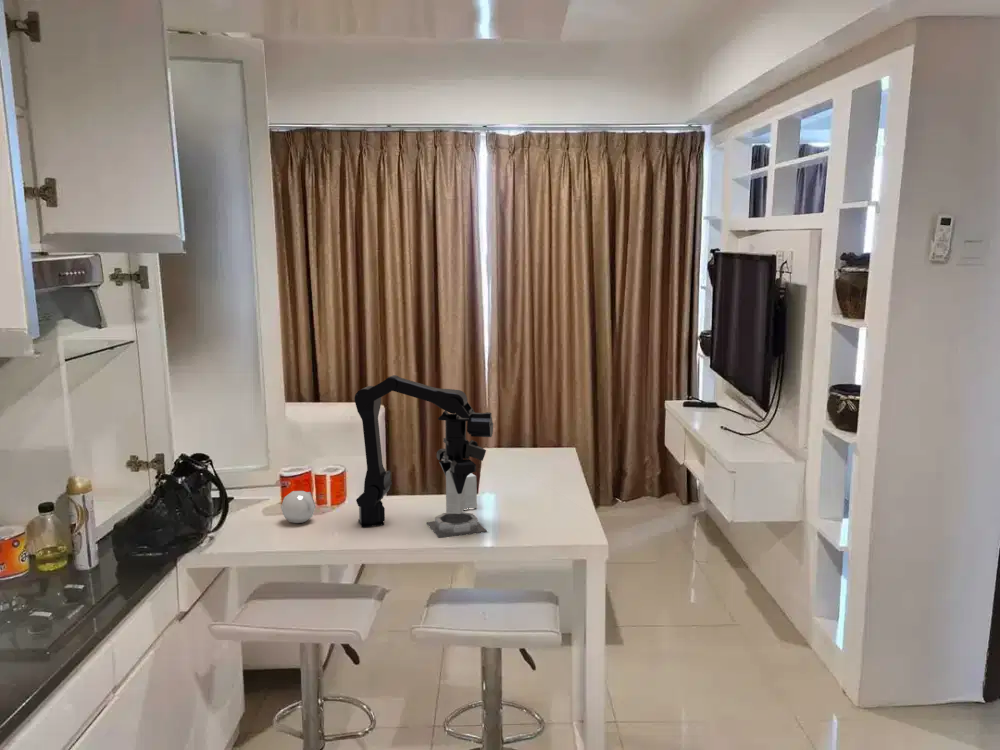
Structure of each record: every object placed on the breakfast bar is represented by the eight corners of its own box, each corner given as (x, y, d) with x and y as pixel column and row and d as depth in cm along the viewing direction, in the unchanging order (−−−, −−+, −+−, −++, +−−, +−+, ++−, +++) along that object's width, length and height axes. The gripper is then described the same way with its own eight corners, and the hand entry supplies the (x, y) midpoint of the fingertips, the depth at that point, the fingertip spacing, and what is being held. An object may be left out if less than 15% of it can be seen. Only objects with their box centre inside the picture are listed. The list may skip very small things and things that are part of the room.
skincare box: (451, 507, 216) (451, 466, 215) (465, 508, 216) (465, 467, 214) (445, 513, 210) (445, 471, 209) (460, 514, 210) (460, 472, 208)
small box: (477, 509, 230) (476, 476, 229) (459, 511, 228) (459, 477, 227) (468, 502, 238) (468, 469, 236) (451, 504, 236) (451, 471, 234)
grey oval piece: (290, 533, 213) (300, 522, 228) (319, 512, 214) (326, 503, 228) (271, 507, 212) (281, 498, 227) (299, 486, 213) (308, 478, 228)
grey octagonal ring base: (438, 538, 205) (438, 528, 205) (426, 523, 217) (426, 514, 217) (487, 532, 210) (487, 522, 210) (472, 518, 222) (472, 508, 222)
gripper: (494, 440, 204) (493, 496, 206) (472, 427, 222) (472, 479, 224) (454, 443, 200) (454, 500, 202) (436, 430, 218) (436, 482, 220)
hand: (455, 490), depth 212 cm, fingers closed on skincare box, 7 cm apart
